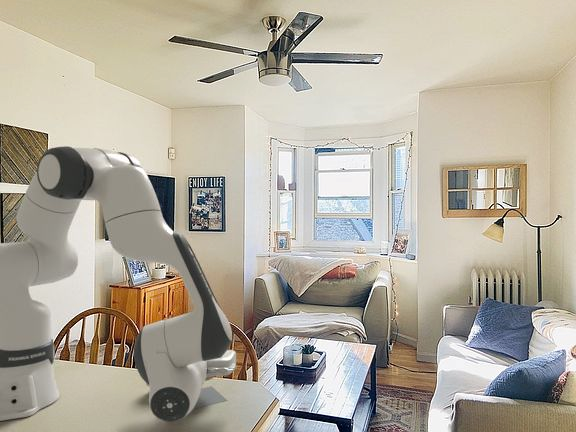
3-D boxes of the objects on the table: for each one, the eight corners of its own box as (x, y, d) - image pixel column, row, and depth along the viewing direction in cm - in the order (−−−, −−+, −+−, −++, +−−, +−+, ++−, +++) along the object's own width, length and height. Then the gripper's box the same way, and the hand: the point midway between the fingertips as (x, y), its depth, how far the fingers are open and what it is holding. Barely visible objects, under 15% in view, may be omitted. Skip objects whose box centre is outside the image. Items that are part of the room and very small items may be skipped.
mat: (183, 413, 98) (183, 411, 98) (169, 397, 107) (169, 396, 107) (227, 401, 104) (227, 400, 104) (211, 387, 113) (211, 386, 113)
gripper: (235, 357, 93) (239, 337, 107) (139, 357, 92) (155, 337, 106) (234, 386, 93) (238, 362, 107) (138, 386, 92) (155, 362, 106)
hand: (196, 350), depth 107 cm, fingers closed on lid, 3 cm apart
